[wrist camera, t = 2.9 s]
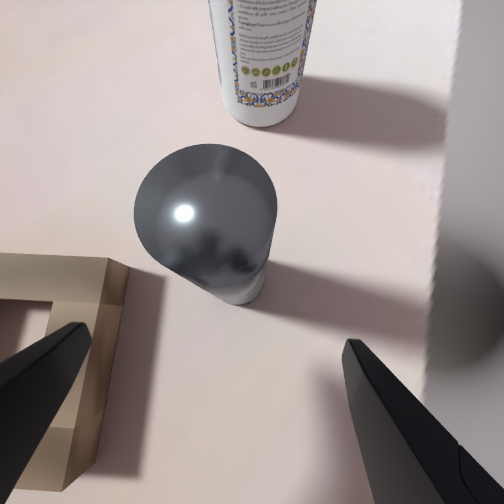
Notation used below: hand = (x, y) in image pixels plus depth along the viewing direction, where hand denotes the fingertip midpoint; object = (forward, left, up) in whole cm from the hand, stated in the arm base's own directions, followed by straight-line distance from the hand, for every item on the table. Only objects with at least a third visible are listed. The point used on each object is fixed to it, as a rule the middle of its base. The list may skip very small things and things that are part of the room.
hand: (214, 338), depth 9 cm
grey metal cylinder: (+4, 0, -10) cm, 11 cm away
